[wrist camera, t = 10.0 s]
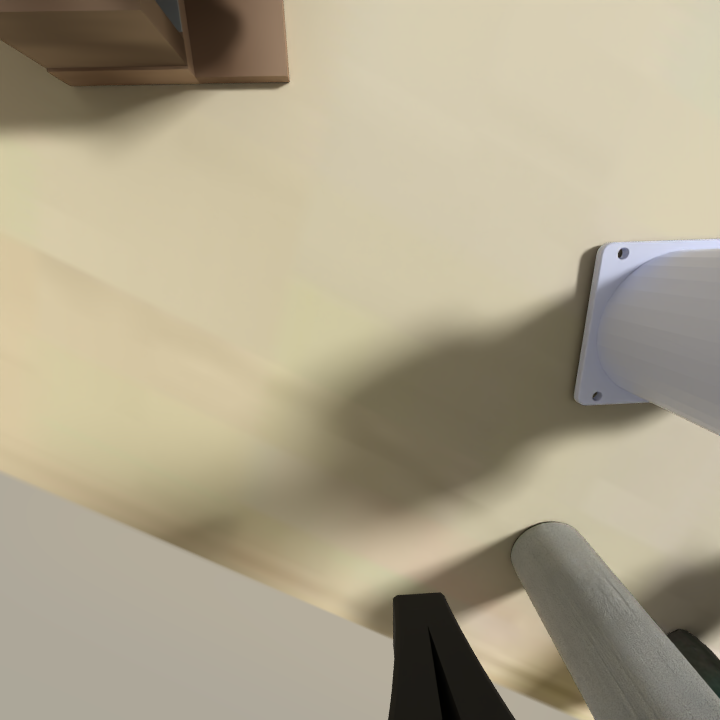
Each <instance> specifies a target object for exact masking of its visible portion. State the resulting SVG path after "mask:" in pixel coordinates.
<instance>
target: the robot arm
mask: <svg viewBox="0 0 720 720" xmlns="http://www.w3.org/2000/svg"><path fill="white" fill-rule="evenodd" d="M620 249H622V256H621V257H620V258H618V252H619V250H620ZM595 392H597V395H596V396H595V397H594V398H592V396H593V394H594V393H595ZM574 399H575V400H576V401H577V402H578V403H580V404H581V405H606V404H627V403H647V402H651V403H653V404H655V405H657V406H659V407H661V408H663V409H665V410H667V411H669V412H671V413H674V414H676V415H678V416H680V417H682V418H684V419H686V420H688V421H690V422H692V423H694V424H696V425H698V426H700V427H702V428H705V429H707V430H709V431H711V432H713V433H715V434H717V435H719V436H720V239H697V240H667V241H638V242H610V243H605V244H603V245H602V246H601V247H600V248H599V249H598V252H597V255H596V261H595V267H594V273H593V279H592V286H591V292H590V298H589V304H588V311H587V317H586V323H585V329H584V336H583V342H582V348H581V354H580V360H579V367H578V373H577V379H576V385H575V392H574ZM393 647H394V658H395V659H394V671H393V684H392V694H391V703H390V710H389V718H388V720H515V718H514V717H513V715H512V714H511V712H510V711H509V709H508V707H507V706H506V704H505V703H504V701H503V700H502V698H501V696H500V695H499V693H498V692H497V690H496V689H495V687H494V685H493V684H492V682H491V680H490V679H489V677H488V675H487V674H486V672H485V670H484V669H483V667H482V666H481V664H480V662H479V661H478V659H477V657H476V655H475V654H474V652H473V650H472V648H471V647H470V645H469V643H468V641H467V639H466V638H465V636H464V634H463V632H462V630H461V629H460V627H459V625H458V623H457V621H456V619H455V617H454V615H453V613H452V611H451V609H450V607H449V605H448V603H447V601H446V599H445V596H444V595H443V594H442V593H425V594H409V595H397V596H396V597H394V598H393Z"/></svg>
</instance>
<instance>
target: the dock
mask: <svg viewBox="0 0 720 720" xmlns="http://www.w3.org/2000/svg"><path fill="white" fill-rule="evenodd" d="M0 40H2V41H3V42H5V43H7V44H8V45H10V46H11V47H13V48H15V49H16V50H18V51H19V52H21V53H23V54H24V55H26V56H27V57H29V58H31V59H32V60H34V61H35V62H37V63H39V64H40V65H42V66H43V67H45V68H47V72H49V73H50V74H52V75H53V76H55V77H57V78H58V79H60V80H62V81H63V82H65V83H66V84H68V85H70V86H97V85H150V84H203V83H255V82H290V81H289V68H288V55H287V43H286V30H285V17H284V4H283V0H0Z"/></svg>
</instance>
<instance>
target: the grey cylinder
mask: <svg viewBox="0 0 720 720" xmlns="http://www.w3.org/2000/svg"><path fill="white" fill-rule="evenodd" d="M511 562H512V565H513V567H514V569H515V571H516V574H517V576H518V577H519V579H520V581H521V583H522V585H523V587H524V589H525V590H526V592H527V594H528V596H529V598H530V600H531V602H532V604H533V605H534V607H535V609H536V611H537V613H538V615H539V617H540V618H541V620H542V622H543V624H544V626H545V628H546V630H547V631H548V633H549V635H550V637H551V639H552V641H553V643H554V644H555V646H556V648H557V650H558V652H559V654H560V656H561V657H562V659H563V661H564V663H565V665H566V667H567V669H568V671H569V672H570V674H571V676H572V678H573V680H574V682H575V684H576V685H577V687H578V689H579V691H580V693H581V695H582V697H583V698H584V700H585V702H586V704H587V706H588V708H589V710H590V711H591V713H592V715H593V717H594V719H595V720H720V699H719V697H718V696H717V695H716V694H715V693H714V692H713V690H712V689H711V688H710V687H709V686H708V684H707V683H706V682H705V681H704V680H703V679H702V677H701V676H700V675H699V674H698V673H697V671H696V670H695V669H694V668H693V667H692V665H691V664H690V663H689V662H688V661H687V660H686V658H685V657H684V656H683V655H682V654H681V652H680V651H679V650H678V649H677V648H676V646H675V645H674V644H673V643H672V642H671V641H670V639H669V638H668V637H667V636H666V635H665V633H664V632H663V631H662V630H661V629H660V628H659V626H658V625H657V624H656V623H655V622H654V620H653V619H652V618H651V617H650V616H649V614H648V613H647V612H646V611H645V610H644V609H643V607H642V606H641V605H640V604H639V603H638V601H637V600H636V599H635V598H634V597H633V595H632V594H631V593H630V592H629V591H628V590H627V588H626V587H625V586H624V585H623V584H622V582H621V581H620V580H619V579H618V578H617V577H616V575H615V574H614V573H613V572H612V571H611V569H610V568H609V567H608V566H607V565H606V563H605V562H604V561H603V560H602V559H601V558H600V556H599V555H598V554H597V553H596V552H595V550H594V549H593V548H592V547H591V546H590V544H589V543H588V542H587V541H586V540H585V539H584V537H583V536H582V535H581V534H580V533H579V532H578V531H577V530H576V529H575V528H573V527H572V526H570V525H568V524H565V523H560V522H547V523H542V524H539V525H536V526H534V527H532V528H530V529H528V530H527V531H525V532H524V533H523V534H522V535H521V536H520V537H519V538H518V539H517V541H516V542H515V544H514V546H513V548H512V552H511Z"/></svg>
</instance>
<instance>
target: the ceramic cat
mask: <svg viewBox="0 0 720 720" xmlns="http://www.w3.org/2000/svg"><path fill="white" fill-rule="evenodd" d="M666 636H667V637H668V638H669V639H670V641H671V642H672V643H673V644H674V645H675V646H676V648H677V649H678V650H679V651H680V652H681V654H682V655H683V656H684V657H685V658H686V660H687V661H688V662H689V663H690V664H691V665H692V667H693V668H694V669H695V670H696V671H697V673H698V674H699V675H700V676H701V677H702V679H703V680H704V681H705V682H706V683H707V684H708V686H709V687H710V688H711V689H712V690H713V692H714V693H715V694H716V695H717V696H718V697H719V699H720V660H719V659H718V658H717V656H716V655H715V654H714V653H713V652H712V651H711V650H710V649H709V648H708V647H707V646H706V645H704V644H703V643H702V642H701V641H700V640H699V639H697V638H696V637H695V636H693V635H692V634H690V633H689V632H688V631H686V630H677V631H675V632H672V633H669V634H667V635H666Z"/></svg>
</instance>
